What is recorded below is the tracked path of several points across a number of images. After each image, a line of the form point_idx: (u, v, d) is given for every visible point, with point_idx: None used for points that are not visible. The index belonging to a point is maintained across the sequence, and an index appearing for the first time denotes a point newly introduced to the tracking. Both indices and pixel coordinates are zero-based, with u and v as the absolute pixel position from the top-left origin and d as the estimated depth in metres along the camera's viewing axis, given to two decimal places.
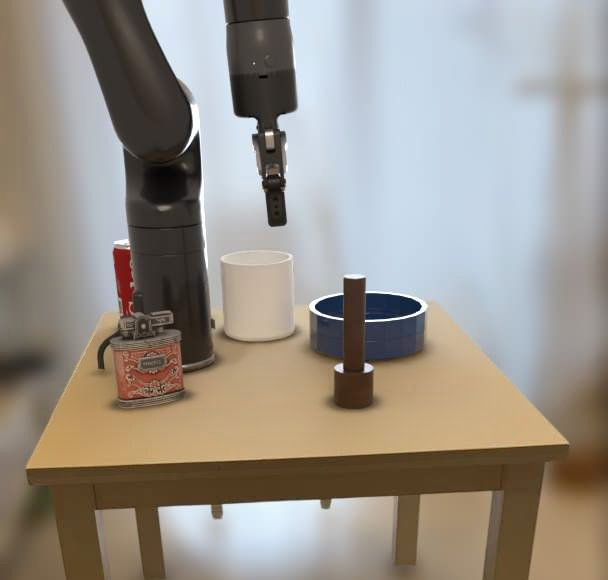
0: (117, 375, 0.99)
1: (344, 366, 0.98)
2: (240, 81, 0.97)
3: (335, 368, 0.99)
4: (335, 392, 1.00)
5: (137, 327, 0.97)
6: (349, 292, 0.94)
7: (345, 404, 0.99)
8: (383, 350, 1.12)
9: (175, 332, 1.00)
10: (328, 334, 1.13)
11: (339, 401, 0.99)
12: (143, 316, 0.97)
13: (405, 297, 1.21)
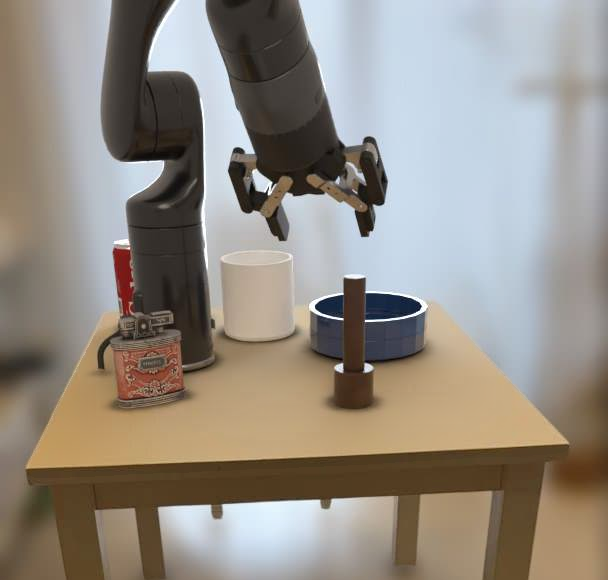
0: (117, 375, 0.99)
1: (344, 366, 0.98)
2: None
3: (335, 368, 0.99)
4: (335, 392, 1.00)
5: (137, 327, 0.97)
6: (349, 292, 0.94)
7: (345, 404, 0.99)
8: (383, 350, 1.12)
9: (175, 332, 1.00)
10: (328, 334, 1.13)
11: (339, 401, 0.99)
12: (143, 316, 0.97)
13: (405, 297, 1.21)
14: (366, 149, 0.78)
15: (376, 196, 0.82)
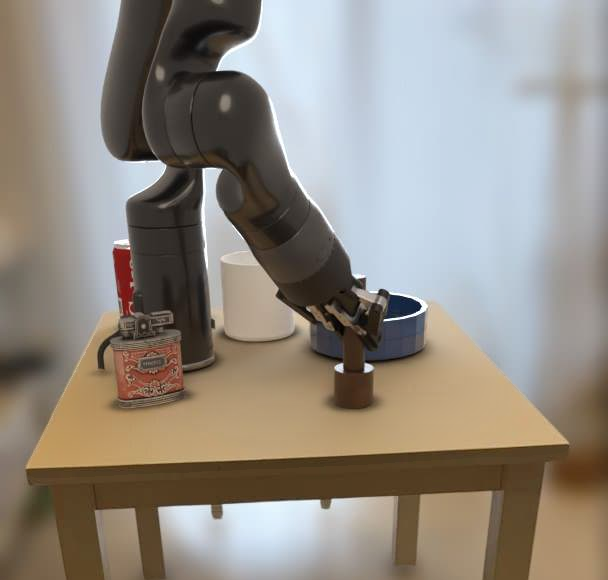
0: (117, 375, 0.99)
1: (344, 366, 0.98)
2: None
3: (335, 368, 0.99)
4: (335, 392, 0.99)
5: (137, 327, 0.97)
6: None
7: (345, 404, 0.99)
8: (383, 350, 1.12)
9: (175, 332, 1.00)
10: (328, 334, 1.13)
11: (339, 401, 0.99)
12: (143, 316, 0.97)
13: (405, 297, 1.21)
14: (379, 303, 0.88)
15: (369, 329, 0.92)
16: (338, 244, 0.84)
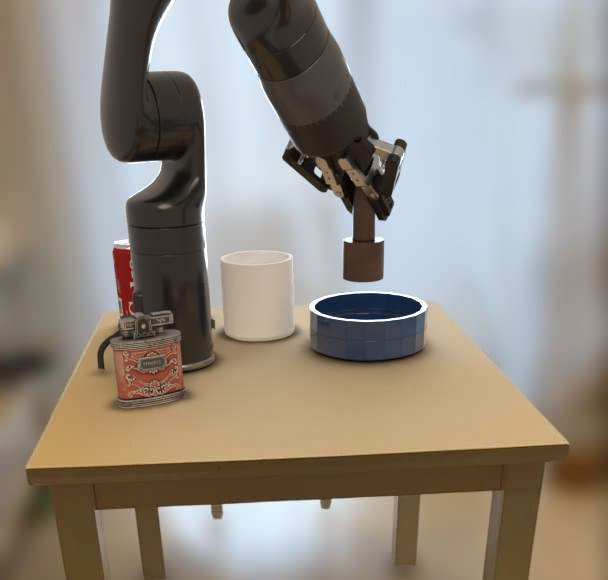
0: (117, 375, 0.99)
1: (354, 237, 0.93)
2: None
3: (344, 240, 0.94)
4: (344, 266, 0.94)
5: (137, 327, 0.97)
6: None
7: (356, 278, 0.94)
8: (383, 350, 1.12)
9: (175, 332, 1.00)
10: (328, 334, 1.13)
11: (348, 275, 0.94)
12: (143, 316, 0.97)
13: (405, 297, 1.21)
14: (397, 153, 0.83)
15: (383, 188, 0.88)
16: (355, 84, 0.79)
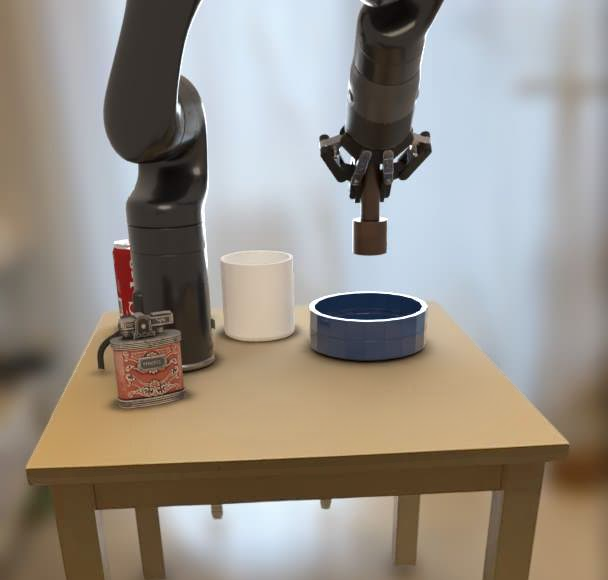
0: (117, 375, 0.99)
1: (366, 218, 1.10)
2: None
3: (358, 221, 1.10)
4: (361, 243, 1.11)
5: (137, 327, 0.97)
6: None
7: (374, 252, 1.11)
8: (383, 350, 1.12)
9: (175, 332, 1.00)
10: (328, 334, 1.13)
11: (367, 250, 1.11)
12: (143, 316, 0.97)
13: (405, 297, 1.21)
14: (429, 142, 1.03)
15: (403, 173, 1.06)
16: None
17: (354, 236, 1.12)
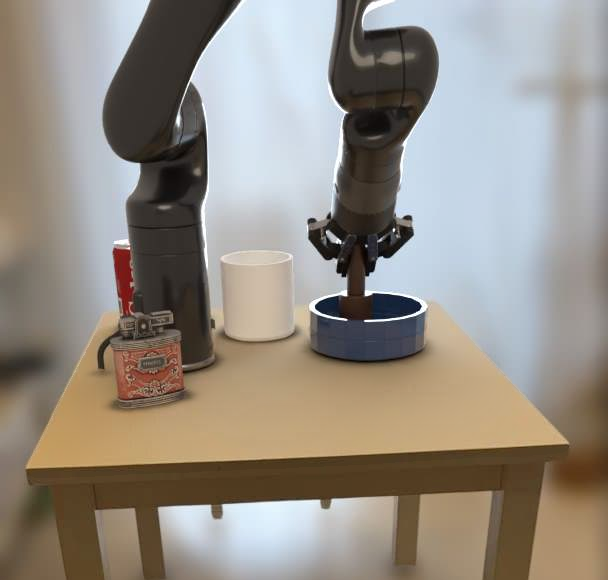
0: (117, 375, 0.99)
1: (352, 292, 1.16)
2: None
3: (344, 295, 1.16)
4: (347, 316, 1.16)
5: (137, 327, 0.97)
6: None
7: None
8: (383, 350, 1.12)
9: (175, 332, 1.00)
10: (328, 334, 1.13)
11: None
12: (143, 316, 0.97)
13: (405, 297, 1.21)
14: (411, 226, 1.08)
15: (387, 252, 1.12)
16: None
17: (341, 309, 1.17)
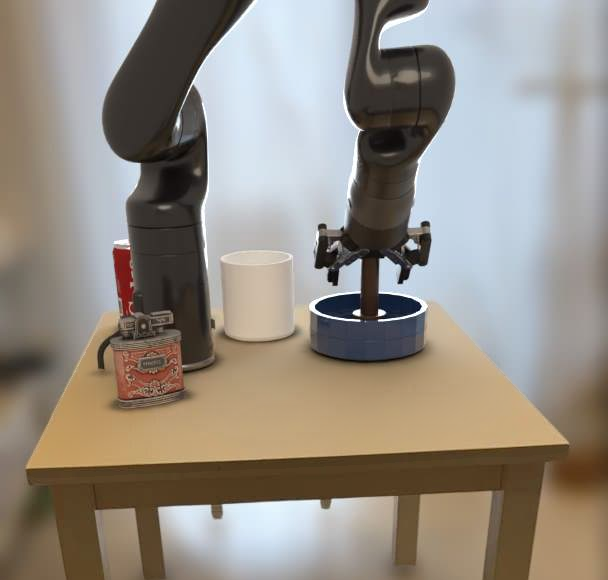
0: (117, 375, 0.99)
1: (366, 312, 1.16)
2: None
3: (358, 315, 1.16)
4: None
5: (137, 327, 0.97)
6: None
7: None
8: (383, 350, 1.12)
9: (175, 332, 1.00)
10: (328, 334, 1.13)
11: None
12: (143, 316, 0.97)
13: (405, 297, 1.21)
14: (427, 231, 1.06)
15: (423, 260, 1.11)
16: None
17: None
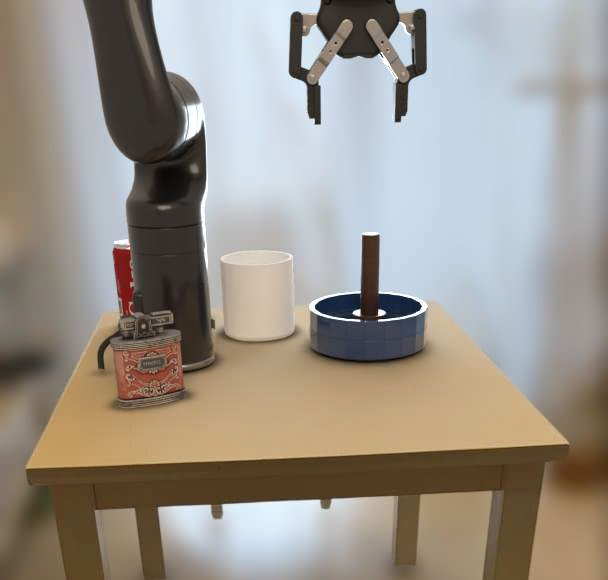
0: (117, 375, 0.99)
1: (366, 312, 1.16)
2: None
3: (358, 315, 1.16)
4: None
5: (137, 327, 0.97)
6: (372, 247, 1.12)
7: None
8: (383, 350, 1.12)
9: (175, 332, 1.00)
10: (328, 334, 1.13)
11: None
12: (143, 316, 0.97)
13: (405, 297, 1.21)
14: None
15: (420, 61, 0.92)
16: None
17: None
